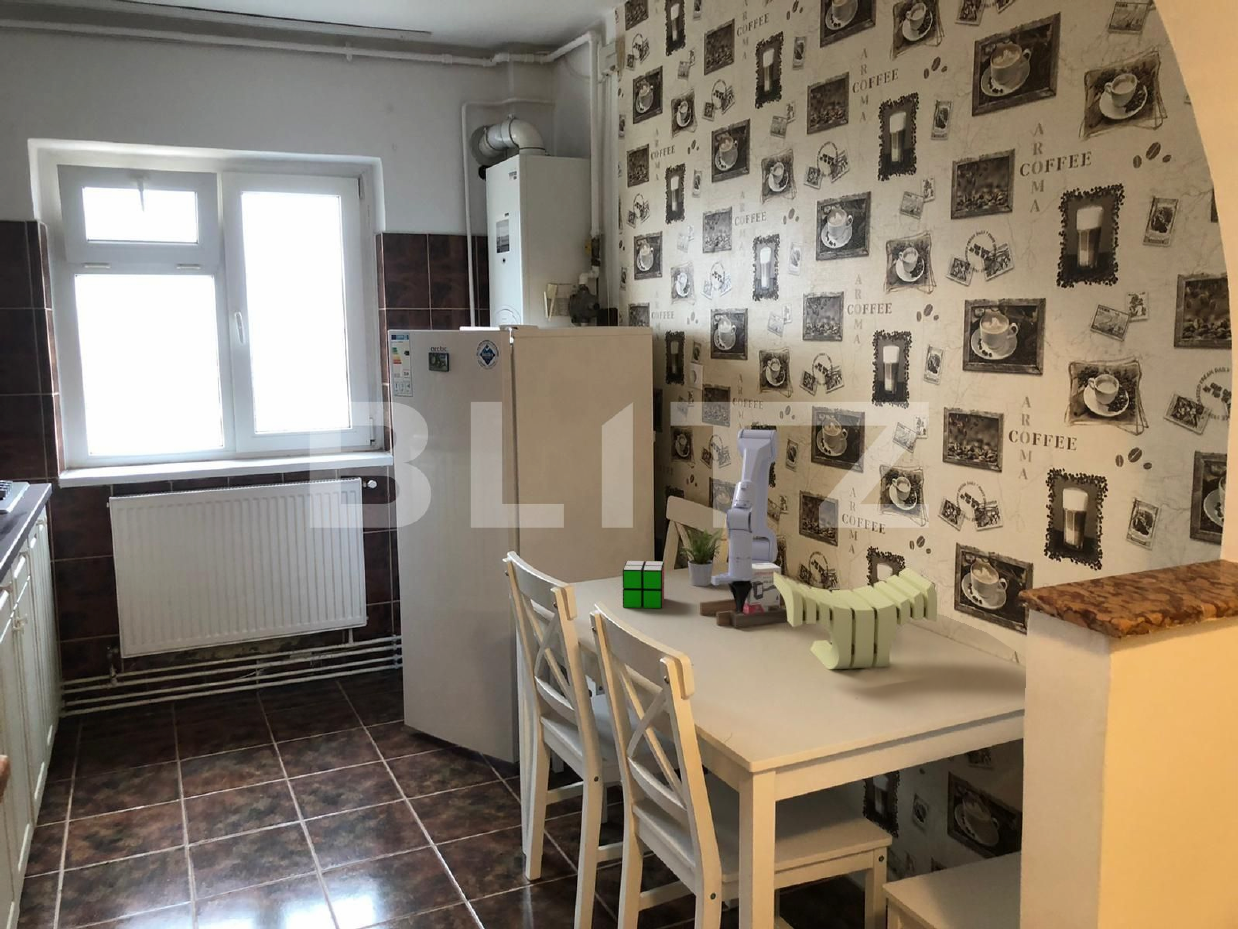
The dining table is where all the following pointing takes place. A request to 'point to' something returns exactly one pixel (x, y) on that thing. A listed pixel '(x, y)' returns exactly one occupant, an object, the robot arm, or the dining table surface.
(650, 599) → the puzzle cube
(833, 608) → the slatted curved stool
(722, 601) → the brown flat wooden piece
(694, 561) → the house plant
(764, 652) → the dining table surface
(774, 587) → the ink box
